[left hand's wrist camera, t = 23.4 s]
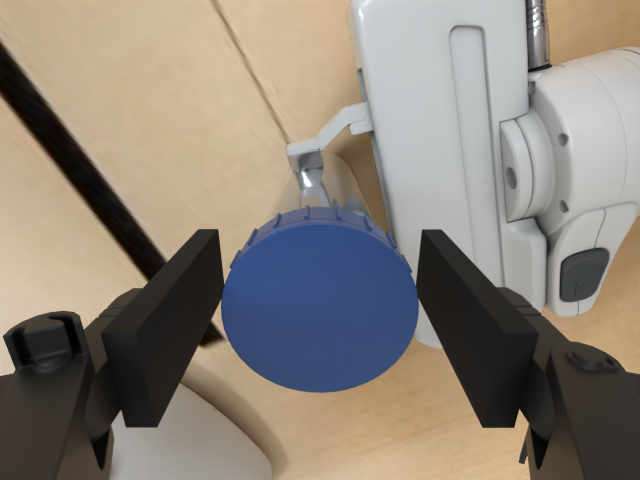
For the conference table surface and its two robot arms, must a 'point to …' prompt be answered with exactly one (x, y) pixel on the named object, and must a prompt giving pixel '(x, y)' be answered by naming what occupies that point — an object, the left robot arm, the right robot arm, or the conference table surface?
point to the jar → (321, 189)
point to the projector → (187, 446)
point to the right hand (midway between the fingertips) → (305, 215)
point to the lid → (320, 300)
